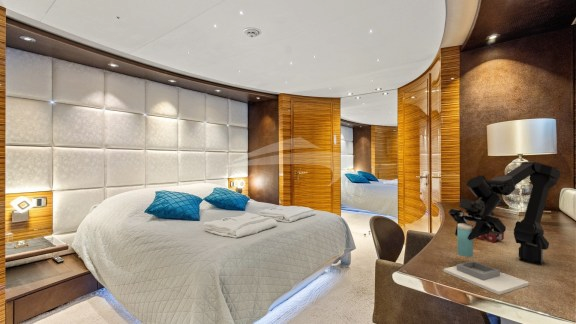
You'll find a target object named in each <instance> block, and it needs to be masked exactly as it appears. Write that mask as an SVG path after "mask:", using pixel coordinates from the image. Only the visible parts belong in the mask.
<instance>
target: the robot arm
mask: <svg viewBox="0 0 576 324" xmlns="http://www.w3.org/2000/svg"><path fill="white" fill-rule="evenodd" d="M528 177H529V181H530V183H531V185H532V186H531V187H532V188H531V191H530V195H529V199H528V201H527V202H528V203H527V206H526V209H525V213H524V216H523V219H521V221H520V220H519V221H518V220H517V221H516V222H515V226H514V228H513V237H514V240H515V243H516V244H520V245H519V247H518V259H519V261H521V262H525V263H529V264H530V263H531V264H535V265H539V266H542V264H543V263H544V262H545V260H544V251H546V250H548V249H549V246H550V242H549V241H548V240H547V239H546V237H545V236H544V233H545V231H544V229H543V225H542V224H541V222H542V217H543V214H544V210H545V206H546V203H547V199H548V195H549V192H550V189H551V188H552V187H554V186H556V184H557V183H558V182H559V178H560V177H561V172H560V170H559V169H558V168H557V167H555V166H551V165H548V164H543V163H542V162H541V163H540V162H538V161H524V162H523V161H522V162H521V164H520V165H518V166H517V167H516V168H514V169H513V170H511V171H509V172H507V173H506V174H505V175H502V176H496V177H494V178H491V179H489V180H487V178H486V176H485V175H483V174H482V175H481V174H478V175H477V176H476V177H472V178H470V179H469V180H467V182H466V187H467V188H468V189H469V190H470V191H471V193H472V194H473V195H474V196H475V197H476V198H478V199H476V200H472V199H468V198H467V199H466V198H461V199H460V202H459V205H458V207H459V208H462V209H464V212H465V213H464V212H463V210H462V209H458V208H457V209H456V208H450V210H449V211H448V214H449V215H450V216H451V218H452V219H453V220H454V221H455V223H456V228H455V232H454V234H455V236H456V237H457V230H458V224H459V223H464V224H468V222H473V223H475V222H476V225H475V224H474V226H473V230H472V231H471V233H470V234H469V236H468V239H469V240H472V239H473V240H474V239H477V238H476V237H479V236H481V235H484V234H487V233H492V229H493V230H494V232H497V233H500V234H503V233H504V234H505V231H507V230H506V229H507V228H506V225H505V224H504V223H503V222H502V220H501V219H500V218H499V217H495V216H494V215H495V213H494V211H495V209H496V207H497V206H498V205H499V206H504V201H503V198H502V197H500V196H510V195H511V194H512V193H513V192H514V191H515V190H516V186H517V184H520V183H521V182H522V181H524V180H525V179H526V178H528Z"/></svg>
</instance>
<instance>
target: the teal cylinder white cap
mask: <svg viewBox="0 0 576 324" xmlns="http://www.w3.org/2000/svg"><path fill="white" fill-rule="evenodd" d="M473 229H474V224H473V225H472V224H469V223H467V224H464V223H459V224H458V230H457V236H456V237H457V240H456V241H457V243H456V246H457V247H456V249H457V250H456V251H457V252H456V253H457V254H456V255H458V256H461V257H466V258H471V257H472V258H473V256H474V239H472V240H469V239H468V236H469V234H470V233H471V231H472V230H473Z"/></svg>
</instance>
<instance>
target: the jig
mask: <svg viewBox="0 0 576 324" xmlns="http://www.w3.org/2000/svg"><path fill="white" fill-rule="evenodd" d="M443 272H444V273H446V274H449V275H451V276H454V277H455V278H458V279H460V280H463V281H465V282H468V283H469V284H472V285H474V286H476V287H480V288H482V289H484V290H486V291H488V292H491V293H494V294H495V295H498V296H501V295H503V294H504V295H505V294H507V293H509V292H513V291H516V290H519V289H522V288H525V287H528V286H529V285H530V281H527V280H524V279H521V278H518V277H516V276H512V275H510V274H507V273H504V272H501V270H500V269H498V268H495V267H492V266H489V265H486V264H484V263H481V262H478V261H474V260H470V261H466V262H461V263H456V265H455V266H451V267H445V268H443Z"/></svg>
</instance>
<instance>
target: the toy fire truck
mask: <svg viewBox="0 0 576 324" xmlns="http://www.w3.org/2000/svg"><path fill="white" fill-rule="evenodd" d="M475 225H476V222H474V226H475ZM504 234H505V232H504V233H503V234H500V233H497V232H494V230H493V229H492V233H487V234H484V235H481V236H479V237H476V238H475V239H477V240H484V239H486V240H487V241H488V242H489V243H494V242H497V241H503V240H504V239H505V237H504V236H505V235H504Z"/></svg>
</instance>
